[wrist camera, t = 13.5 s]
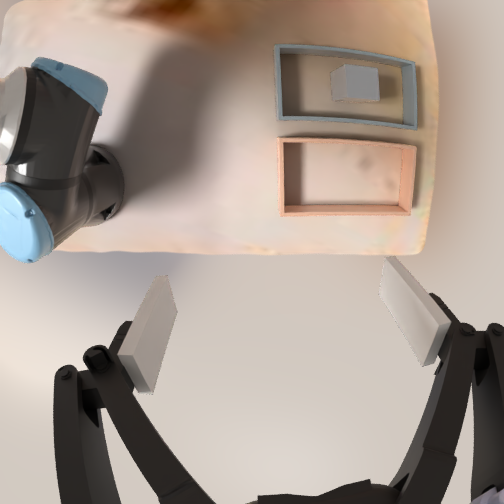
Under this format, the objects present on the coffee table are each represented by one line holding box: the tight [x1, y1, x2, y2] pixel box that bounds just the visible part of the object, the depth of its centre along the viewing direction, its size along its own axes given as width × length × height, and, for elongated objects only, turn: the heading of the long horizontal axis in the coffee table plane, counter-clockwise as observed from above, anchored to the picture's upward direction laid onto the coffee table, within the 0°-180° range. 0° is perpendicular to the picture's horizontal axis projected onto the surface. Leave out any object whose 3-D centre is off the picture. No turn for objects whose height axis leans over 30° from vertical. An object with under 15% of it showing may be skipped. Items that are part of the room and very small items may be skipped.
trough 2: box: [277, 137, 417, 217], centre depth 44 cm, size 23×12×4 cm, turn 92°
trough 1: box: [273, 44, 417, 130], centre depth 37 cm, size 23×12×4 cm, turn 92°
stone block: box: [330, 64, 380, 103], centre depth 36 cm, size 5×5×8 cm
